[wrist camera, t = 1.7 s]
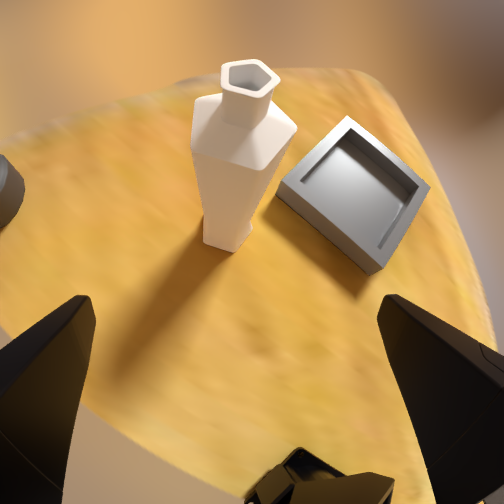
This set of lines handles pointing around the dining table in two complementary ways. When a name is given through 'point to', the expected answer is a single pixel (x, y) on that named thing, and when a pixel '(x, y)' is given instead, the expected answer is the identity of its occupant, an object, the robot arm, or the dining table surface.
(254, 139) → the perfume bottle
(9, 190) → the candle holder
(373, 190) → the gray tray
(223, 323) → the dining table surface
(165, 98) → the dining table surface
